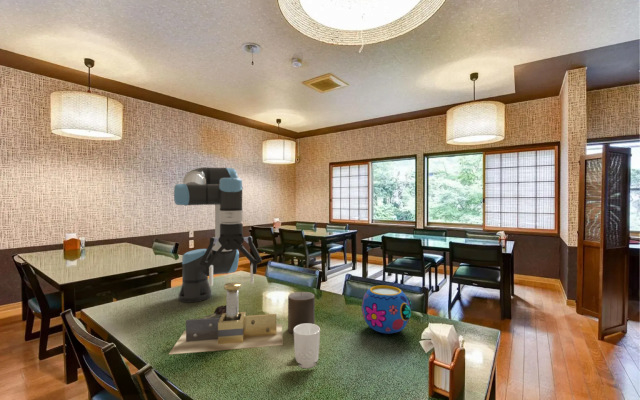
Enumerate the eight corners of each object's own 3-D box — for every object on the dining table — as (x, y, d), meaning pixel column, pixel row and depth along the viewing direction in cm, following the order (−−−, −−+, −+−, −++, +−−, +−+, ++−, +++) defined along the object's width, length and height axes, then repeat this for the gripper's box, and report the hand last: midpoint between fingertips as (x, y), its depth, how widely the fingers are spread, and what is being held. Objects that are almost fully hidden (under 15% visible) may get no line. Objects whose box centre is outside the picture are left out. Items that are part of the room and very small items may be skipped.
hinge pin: (225, 334, 102) (225, 282, 103) (241, 333, 103) (241, 282, 103) (222, 341, 97) (223, 287, 97) (239, 340, 98) (239, 286, 98)
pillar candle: (304, 342, 99) (304, 298, 99) (282, 335, 104) (282, 293, 104) (319, 331, 107) (319, 290, 107) (298, 325, 112) (298, 286, 112)
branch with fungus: (199, 334, 106) (198, 319, 106) (189, 329, 110) (189, 314, 110) (239, 318, 120) (239, 304, 120) (229, 314, 124) (229, 301, 124)
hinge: (190, 335, 102) (189, 315, 102) (276, 329, 106) (276, 309, 106) (182, 347, 94) (182, 325, 94) (276, 339, 98) (276, 318, 98)
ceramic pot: (411, 345, 96) (411, 300, 96) (358, 338, 102) (357, 295, 101) (411, 323, 113) (410, 284, 113) (365, 318, 118) (365, 281, 118)
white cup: (293, 355, 90) (293, 323, 90) (319, 354, 91) (318, 322, 91) (293, 370, 83) (293, 335, 83) (321, 369, 83) (321, 334, 83)
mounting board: (184, 334, 105) (184, 330, 105) (281, 327, 111) (281, 323, 111) (168, 358, 90) (168, 354, 90) (282, 348, 95) (282, 344, 95)
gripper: (189, 224, 94) (190, 289, 95) (267, 223, 98) (268, 285, 99) (196, 222, 102) (196, 282, 102) (268, 221, 105) (268, 279, 106)
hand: (231, 284), depth 100 cm, fingers open, 13 cm apart
